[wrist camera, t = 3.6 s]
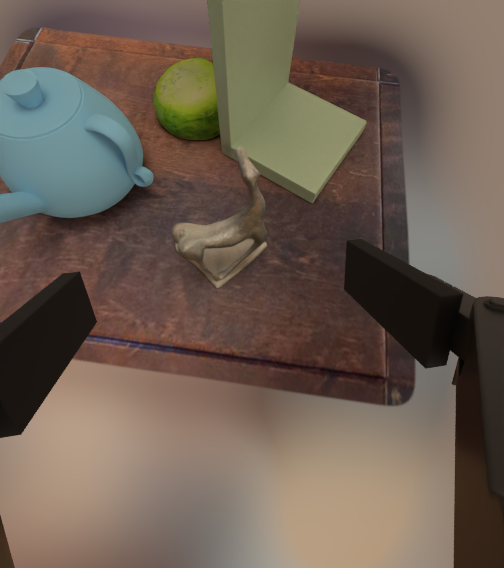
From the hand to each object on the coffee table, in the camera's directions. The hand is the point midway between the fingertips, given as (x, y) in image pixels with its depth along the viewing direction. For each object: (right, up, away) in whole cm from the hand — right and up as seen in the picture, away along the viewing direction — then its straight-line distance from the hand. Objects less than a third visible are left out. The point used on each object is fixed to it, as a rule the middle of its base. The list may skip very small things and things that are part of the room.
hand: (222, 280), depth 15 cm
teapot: (-20, +11, +22) cm, 32 cm away
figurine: (-2, +2, +20) cm, 20 cm away
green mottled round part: (-6, +24, +27) cm, 37 cm away
